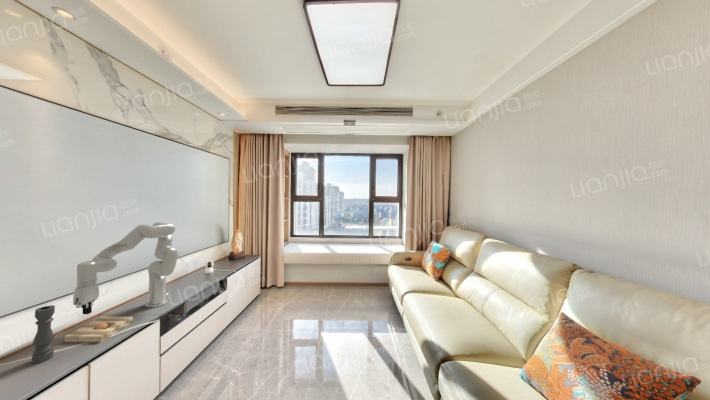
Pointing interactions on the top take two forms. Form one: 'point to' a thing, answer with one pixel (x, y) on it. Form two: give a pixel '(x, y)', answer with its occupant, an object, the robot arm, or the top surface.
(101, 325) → the ball
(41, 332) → the candle holder
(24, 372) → the top surface
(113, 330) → the board
